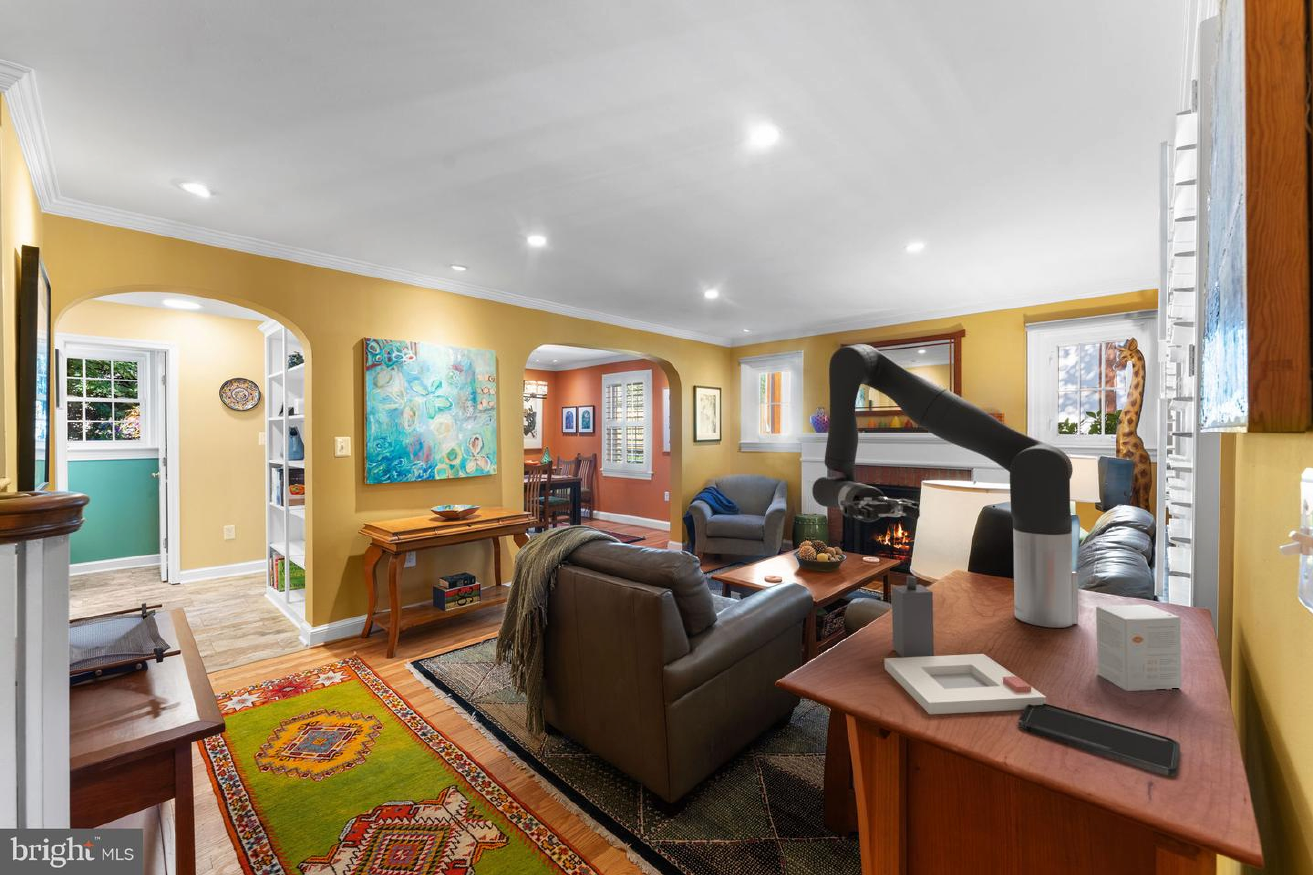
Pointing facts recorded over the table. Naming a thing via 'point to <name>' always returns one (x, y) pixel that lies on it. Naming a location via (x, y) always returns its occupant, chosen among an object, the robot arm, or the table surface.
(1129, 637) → the small box
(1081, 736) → the phone
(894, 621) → the plug
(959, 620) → the table surface
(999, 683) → the socket plate
